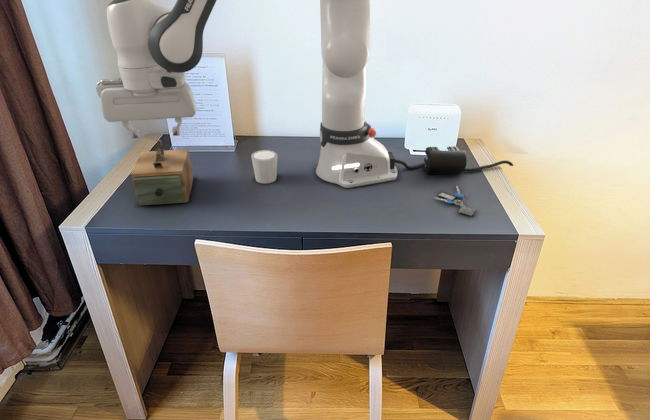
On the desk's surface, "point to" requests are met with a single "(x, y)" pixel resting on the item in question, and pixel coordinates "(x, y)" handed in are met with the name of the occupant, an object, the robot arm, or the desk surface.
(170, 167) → the cabinet
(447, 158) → the black cylinder
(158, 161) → the wooden post with brackets
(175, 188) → the drawer
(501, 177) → the desk surface
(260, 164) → the white cup
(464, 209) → the key chain
